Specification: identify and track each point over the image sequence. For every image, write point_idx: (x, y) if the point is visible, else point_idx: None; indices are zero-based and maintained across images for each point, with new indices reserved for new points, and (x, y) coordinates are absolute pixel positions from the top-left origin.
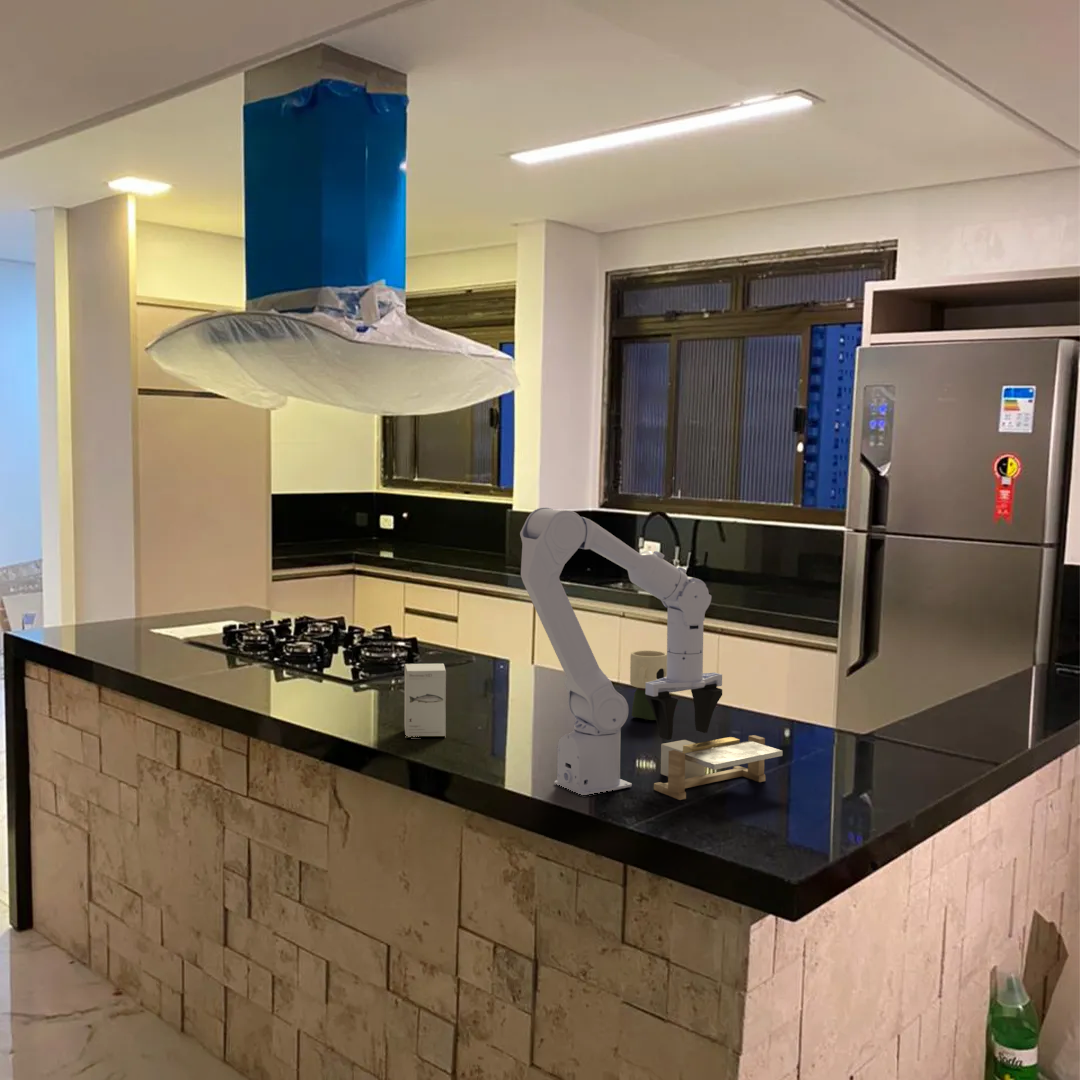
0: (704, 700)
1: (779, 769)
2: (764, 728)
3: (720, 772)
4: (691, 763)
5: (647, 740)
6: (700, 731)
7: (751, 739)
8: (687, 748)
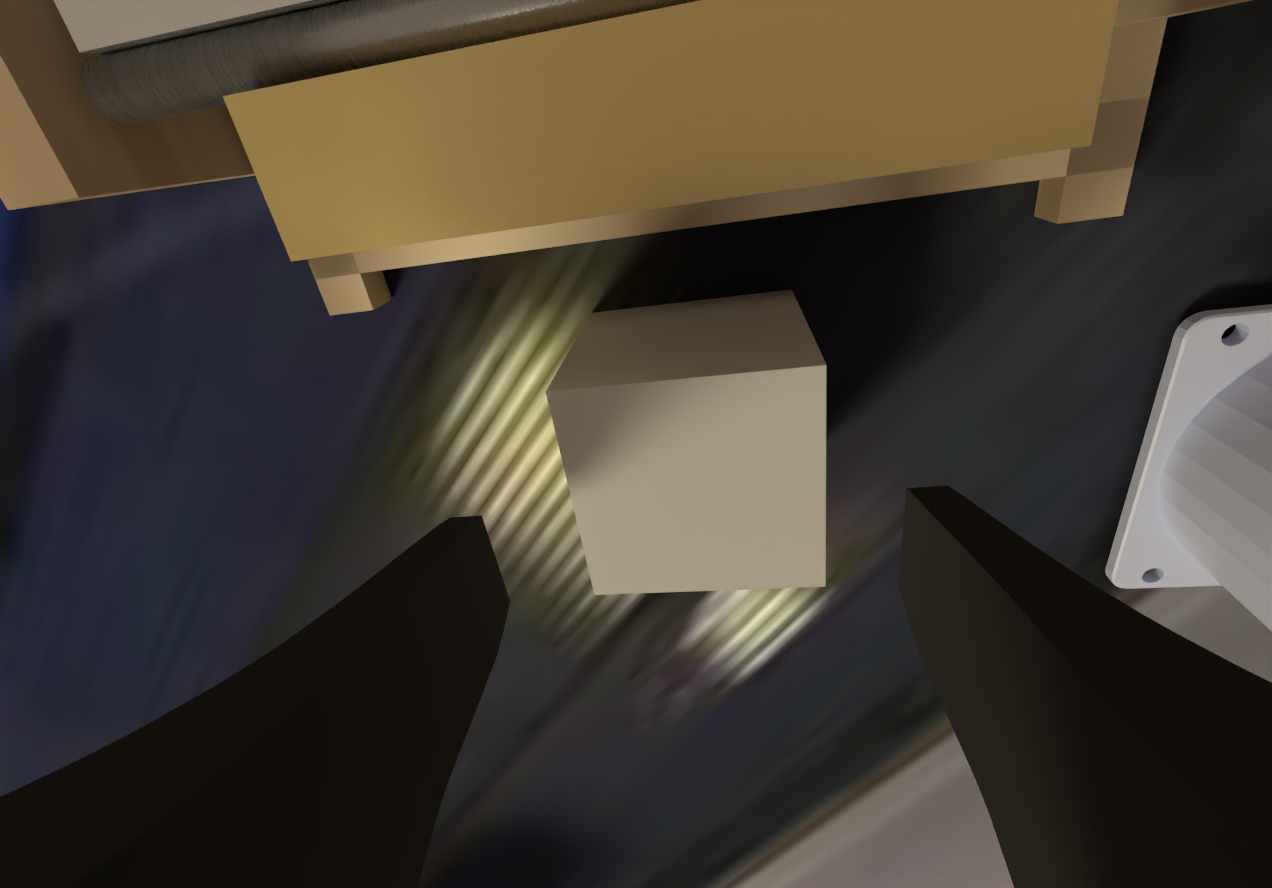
0: (300, 851)
1: (85, 238)
2: (34, 736)
3: (512, 236)
4: (705, 332)
5: (543, 810)
6: (495, 558)
7: (77, 141)
8: (1106, 30)
